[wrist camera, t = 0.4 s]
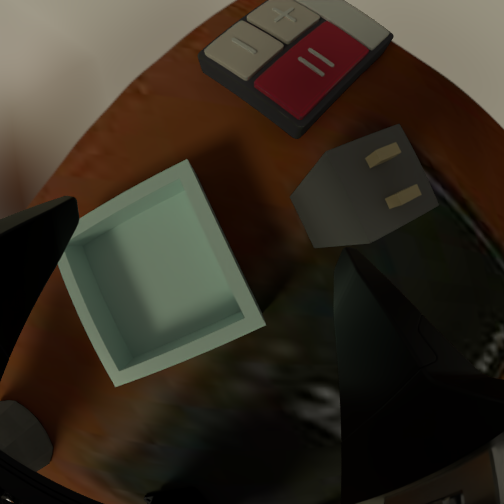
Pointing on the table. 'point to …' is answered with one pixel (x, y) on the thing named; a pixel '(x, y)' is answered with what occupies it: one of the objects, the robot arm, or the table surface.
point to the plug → (363, 190)
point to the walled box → (156, 277)
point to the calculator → (295, 57)
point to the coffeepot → (23, 436)
